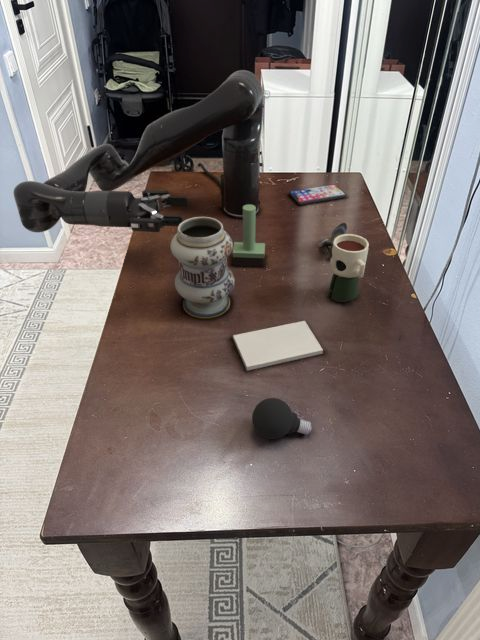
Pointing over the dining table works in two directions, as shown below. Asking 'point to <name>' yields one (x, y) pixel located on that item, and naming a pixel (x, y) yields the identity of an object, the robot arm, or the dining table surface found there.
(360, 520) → the dining table surface
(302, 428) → the light bulb
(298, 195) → the smartphone
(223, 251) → the apothecary jar
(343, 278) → the character mug
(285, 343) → the white tile
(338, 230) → the eagle figurine
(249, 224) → the scrub brush
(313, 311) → the dining table surface
